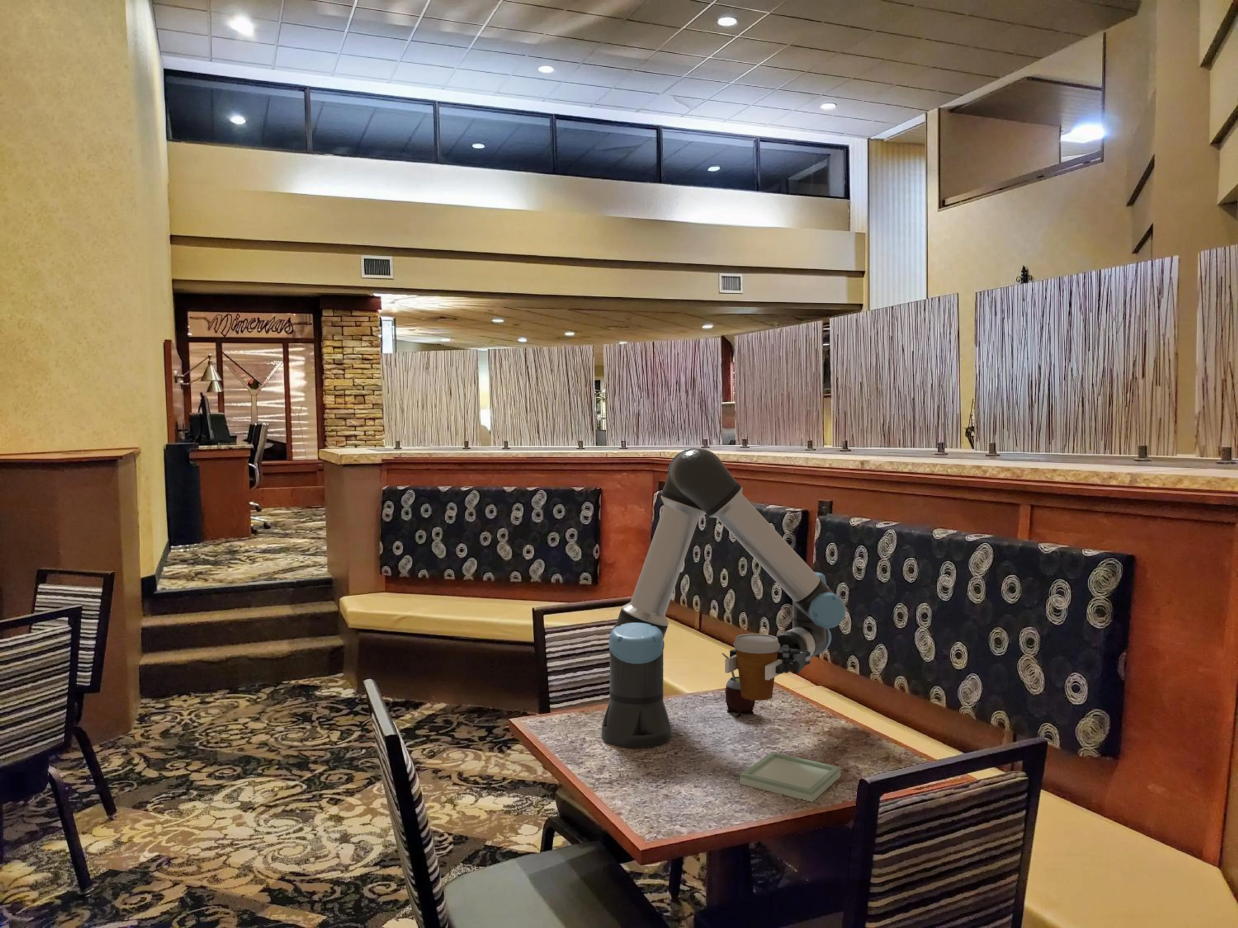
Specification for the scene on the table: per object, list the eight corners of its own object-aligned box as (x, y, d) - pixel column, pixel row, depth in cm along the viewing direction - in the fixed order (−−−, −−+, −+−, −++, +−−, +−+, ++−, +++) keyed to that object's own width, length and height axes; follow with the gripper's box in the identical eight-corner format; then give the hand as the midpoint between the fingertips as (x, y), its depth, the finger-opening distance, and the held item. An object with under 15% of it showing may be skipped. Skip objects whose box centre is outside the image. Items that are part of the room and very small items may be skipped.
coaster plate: (740, 783, 153) (740, 773, 153) (772, 760, 164) (772, 751, 164) (811, 802, 144) (812, 791, 144) (840, 776, 156) (840, 767, 156)
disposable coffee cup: (780, 704, 163) (780, 644, 163) (731, 701, 165) (731, 642, 165) (780, 690, 173) (780, 634, 173) (734, 688, 175) (734, 632, 175)
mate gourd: (756, 709, 197) (756, 647, 197) (754, 719, 189) (754, 654, 189) (725, 707, 198) (725, 645, 198) (721, 717, 191) (721, 653, 191)
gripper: (837, 671, 178) (795, 697, 159) (749, 657, 190) (700, 679, 171) (837, 637, 178) (795, 658, 159) (749, 625, 190) (700, 643, 171)
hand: (746, 669), depth 165 cm, fingers closed on disposable coffee cup, 8 cm apart
